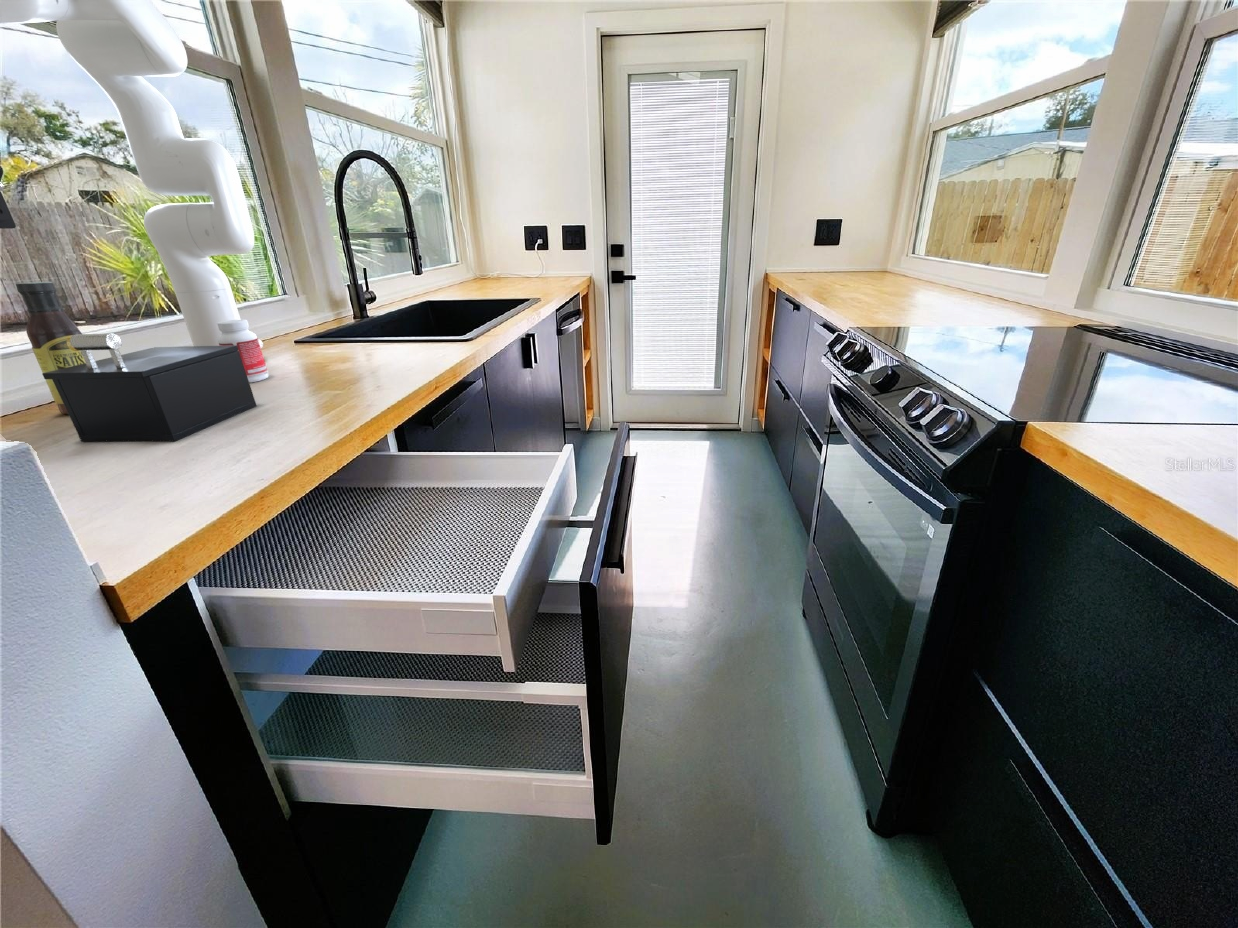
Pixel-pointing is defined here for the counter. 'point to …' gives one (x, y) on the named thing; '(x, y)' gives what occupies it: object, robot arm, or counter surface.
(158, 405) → the black storage box
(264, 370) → the pill bottle
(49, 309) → the sauce bottle
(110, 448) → the counter surface
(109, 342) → the black box lid
